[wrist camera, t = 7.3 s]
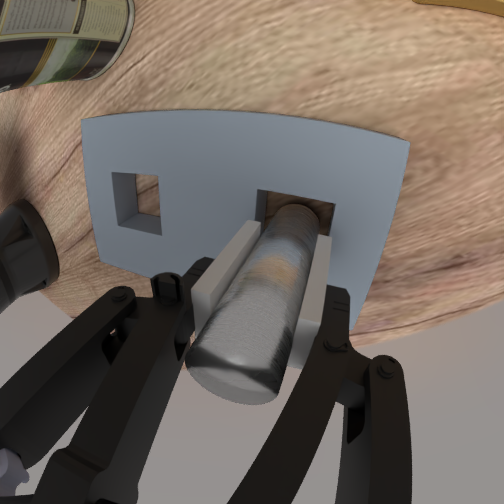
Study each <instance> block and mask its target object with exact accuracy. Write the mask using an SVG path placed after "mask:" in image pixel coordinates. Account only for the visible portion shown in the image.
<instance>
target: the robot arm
mask: <svg viewBox="0 0 504 504" xmlns="http://www.w3.org/2000/svg"><path fill="white" fill-rule="evenodd" d="M260 229H261V222H257V221H252V220H247V221H246V223H245V224H244V225H243V226H242V227H241V229H240V230H239V231H238V232H237V233H236V235H235V236H234V237H233V238H232V239H231V241H230V242H229V243H228V244H227V245H226V247H225V248H224V249H223V250H222V251H221V253H220V254H219V255H218V256H217V258H216V259H213V258H209V257H203V258H201V259H199V260H197V261H196V262H195V263H194V264H193V265H192V266H191V268H189V269H188V270H187V272H186V273H185V274H184V275H183V276H182V277H181V276H180V275H179V274H176V273H173V272H164V273H159V274H157V275H155V276H153V277H152V278H151V279H150V280H151V286H152V292H153V298H147V297H136V296H135V293H134V290H133V289H132V288H130V287H127V286H118V287H114V288H112V289H111V290H109V291H108V292H106V293H105V294H104V295H103V296H102V297H100V298H99V299H98V300H97V301H95V302H94V303H93V304H92V305H91V306H89V307H88V308H87V309H86V310H85V311H84V312H82V313H81V314H80V315H79V316H78V317H76V318H75V319H74V320H73V321H72V322H71V323H70V324H68V325H67V326H66V327H65V328H64V329H63V330H62V331H60V333H58V334H57V335H56V336H55V337H54V338H53V339H51V341H49V342H48V343H47V344H46V345H45V346H44V347H43V348H42V349H40V350H39V351H38V352H37V353H36V354H35V355H34V356H33V357H32V358H31V359H30V360H29V361H28V362H27V363H26V364H25V365H24V366H22V367H21V368H20V369H19V370H18V371H17V372H16V373H15V374H14V375H13V376H12V377H11V378H10V379H9V380H8V381H7V382H6V383H5V384H4V385H3V386H2V387H1V388H0V504H136V503H137V500H138V482H139V479H140V477H141V474H142V471H143V468H144V465H145V463H146V460H147V457H148V454H149V452H150V449H151V446H152V443H153V441H154V438H155V435H156V433H157V430H158V427H159V424H160V422H161V419H162V417H163V414H164V411H165V409H166V406H167V404H168V401H169V398H170V395H171V393H172V391H173V388H174V385H175V383H176V380H177V378H178V375H179V373H180V370H181V368H182V365H183V363H184V360H185V356H186V353H187V352H188V350H189V347H190V337H191V335H192V334H193V332H194V331H195V339H196V338H197V336H198V334H199V333H200V331H201V330H202V328H203V327H204V325H205V323H206V322H207V320H208V319H209V317H210V316H211V314H212V312H213V311H214V309H215V308H216V306H217V305H218V303H219V301H220V300H221V298H222V297H223V295H224V294H225V292H226V290H227V289H228V287H229V286H230V284H231V283H232V281H233V279H234V278H235V276H236V275H237V273H238V272H239V270H240V268H241V267H242V265H243V264H244V262H245V261H246V259H247V258H248V256H249V254H250V253H251V251H252V250H253V248H254V247H255V245H256V243H257V242H258V240H259V239H260ZM331 244H332V237H329V236H325V235H320V234H318V238H317V243H316V248H315V252H314V257H313V261H312V266H311V270H310V274H309V278H308V283H307V287H306V291H305V295H304V299H303V303H302V307H301V311H300V315H299V319H298V322H297V326H296V330H295V334H294V338H293V346H292V349H291V353H290V357H289V360H288V364H287V366H289V367H293V368H298V369H302V372H301V374H300V376H299V378H298V380H297V382H296V384H295V387H294V388H293V391H292V393H291V395H290V397H289V399H288V401H287V403H286V405H285V407H284V409H283V410H282V412H281V414H280V416H279V418H278V420H277V422H276V424H275V425H274V427H273V429H272V431H271V433H270V435H269V436H268V438H267V440H266V442H265V443H264V445H263V447H262V449H261V450H260V452H259V454H258V456H257V457H256V459H255V461H254V462H253V464H252V466H251V467H250V469H249V470H248V472H247V474H246V475H245V477H244V479H243V480H242V482H241V483H240V485H239V487H238V488H237V489H236V491H235V492H234V494H233V495H232V497H231V498H230V500H229V501H228V503H227V504H291V503H292V501H293V499H294V497H295V496H296V493H297V492H298V490H299V488H300V486H301V484H302V482H303V479H304V477H305V475H306V473H307V471H308V469H309V467H310V465H311V462H312V460H313V458H314V456H315V453H316V451H317V449H318V446H319V444H320V442H321V439H322V436H323V434H324V432H325V429H326V426H327V424H328V421H329V419H330V416H331V413H332V410H333V408H334V405H335V402H338V403H340V404H342V405H344V417H343V434H342V448H341V459H340V469H339V478H338V486H337V493H336V501H335V504H411V501H412V450H411V434H410V422H409V411H408V402H407V394H406V388H405V381H404V374H403V369H402V367H401V365H400V363H399V362H398V361H397V360H396V359H394V358H393V357H391V356H387V355H378V356H376V357H374V358H373V359H370V358H367V357H365V356H363V355H361V354H360V353H358V352H357V351H356V350H355V349H354V348H353V347H352V344H351V342H350V340H349V324H350V295H349V293H348V291H347V289H345V288H341V287H336V286H332V285H328V284H327V278H328V270H329V262H330V253H331ZM58 274H59V266H58V260H57V256H56V252H55V249H54V246H53V243H52V240H51V238H50V235H49V233H48V231H47V229H46V227H45V225H44V223H43V221H42V220H41V218H40V216H39V215H38V213H37V212H36V210H35V209H34V208H33V207H32V206H31V205H30V204H29V203H28V202H27V201H25V200H23V199H19V200H17V201H15V202H14V203H12V204H10V205H9V206H7V207H6V209H5V210H4V211H3V212H2V213H1V214H0V314H1V313H2V311H4V310H5V309H6V308H7V307H8V306H9V305H10V304H11V303H13V302H14V301H15V300H16V299H17V298H19V297H21V296H23V295H27V294H29V293H32V292H35V291H38V290H41V289H44V288H46V287H48V286H49V285H51V284H52V283H53V282H54V281H56V280H57V278H58ZM114 329H115V332H114V333H112V334H110V333H111V332H112V331H113V330H114ZM88 406H89V407H88ZM87 407H88V408H87ZM86 408H87V410H86V412H85V414H84V416H83V418H82V420H81V422H80V424H79V426H78V428H77V430H76V432H75V434H74V436H73V438H72V440H71V442H70V444H69V445H68V446H67V447H66V448H62V449H58V450H56V451H55V452H54V453H53V454H52V456H51V457H50V459H49V461H48V463H47V465H46V468H45V470H44V472H43V474H42V477H41V479H40V481H39V484H38V486H37V488H36V491H35V494H31V495H20V496H15V490H16V487H17V486H18V485H19V484H20V483H21V482H23V483H27V482H28V481H29V474H28V472H27V471H26V469H28V468H30V467H32V466H33V465H35V464H36V463H37V462H39V461H40V460H41V459H42V458H43V457H44V456H45V455H46V454H47V453H48V452H49V450H50V449H51V448H52V447H53V446H54V445H55V443H56V442H57V441H58V440H59V439H60V438H61V437H62V435H63V434H64V433H65V432H66V431H67V430H68V429H69V427H70V426H71V425H72V424H73V423H74V422H75V420H76V419H77V418H78V417H79V416H80V415H81V414H82V413H83V412H84V410H85V409H86Z"/></svg>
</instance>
